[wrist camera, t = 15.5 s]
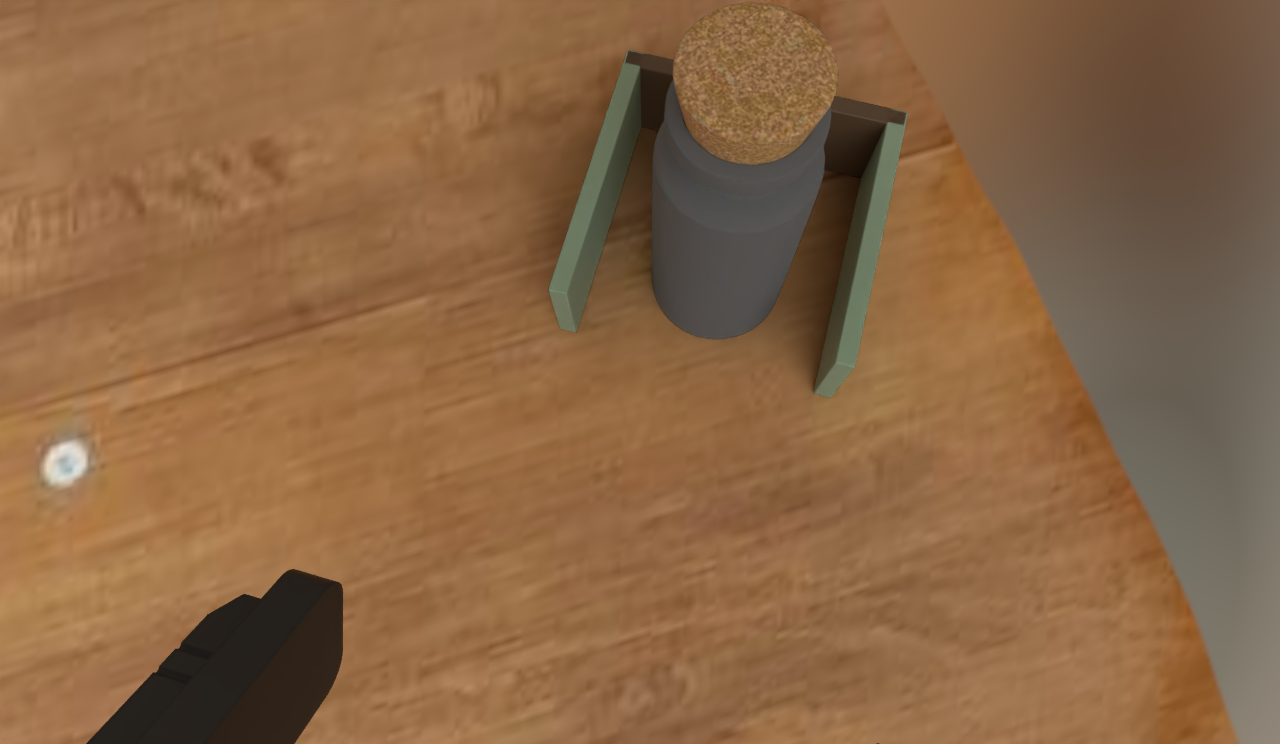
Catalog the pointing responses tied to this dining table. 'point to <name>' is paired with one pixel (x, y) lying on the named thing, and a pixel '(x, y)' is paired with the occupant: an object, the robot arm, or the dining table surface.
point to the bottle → (738, 164)
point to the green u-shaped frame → (853, 147)
